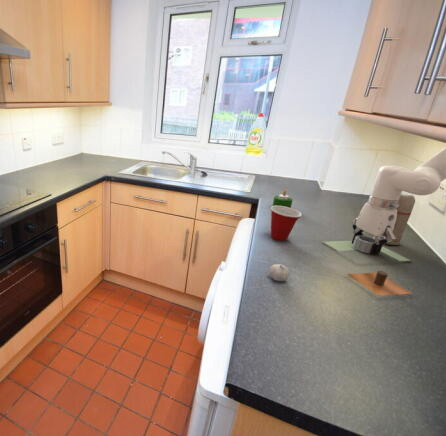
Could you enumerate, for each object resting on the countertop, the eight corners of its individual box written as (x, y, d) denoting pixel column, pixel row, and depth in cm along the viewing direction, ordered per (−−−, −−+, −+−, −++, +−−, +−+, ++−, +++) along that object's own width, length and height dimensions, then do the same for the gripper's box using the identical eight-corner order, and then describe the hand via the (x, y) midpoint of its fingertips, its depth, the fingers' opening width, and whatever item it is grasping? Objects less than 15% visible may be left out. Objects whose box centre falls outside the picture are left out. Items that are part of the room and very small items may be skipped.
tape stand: (377, 274, 94) (381, 262, 92) (412, 295, 84) (418, 282, 82) (345, 276, 93) (349, 264, 91) (378, 298, 82) (383, 284, 81)
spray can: (366, 236, 121) (383, 189, 113) (386, 237, 120) (405, 189, 113) (382, 245, 113) (402, 195, 105) (404, 246, 112) (425, 196, 105)
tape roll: (364, 244, 112) (368, 234, 110) (381, 253, 105) (385, 243, 104) (347, 245, 111) (351, 235, 109) (364, 254, 104) (367, 244, 103)
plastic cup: (295, 246, 111) (304, 216, 106) (264, 240, 115) (270, 211, 111) (293, 235, 120) (301, 207, 116) (264, 230, 124) (270, 203, 120)
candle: (268, 207, 151) (273, 188, 147) (276, 204, 156) (281, 186, 152) (285, 212, 145) (290, 192, 141) (293, 209, 150) (298, 190, 146)
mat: (368, 240, 117) (369, 239, 117) (410, 261, 102) (410, 260, 102) (322, 242, 114) (322, 241, 114) (357, 264, 100) (358, 262, 100)
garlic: (287, 286, 87) (291, 271, 85) (267, 281, 89) (270, 266, 87) (287, 276, 92) (291, 262, 90) (268, 271, 94) (272, 257, 92)
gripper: (418, 211, 94) (397, 260, 100) (369, 194, 110) (353, 237, 116) (397, 211, 93) (377, 261, 99) (350, 194, 109) (336, 238, 115)
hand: (364, 248), depth 108 cm, fingers closed on tape roll, 7 cm apart
